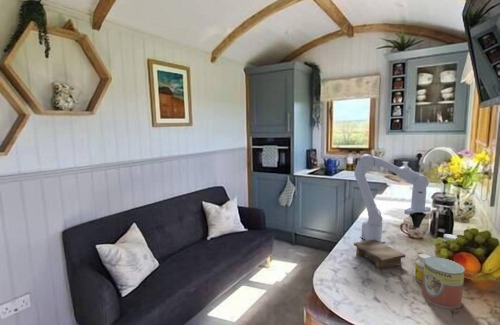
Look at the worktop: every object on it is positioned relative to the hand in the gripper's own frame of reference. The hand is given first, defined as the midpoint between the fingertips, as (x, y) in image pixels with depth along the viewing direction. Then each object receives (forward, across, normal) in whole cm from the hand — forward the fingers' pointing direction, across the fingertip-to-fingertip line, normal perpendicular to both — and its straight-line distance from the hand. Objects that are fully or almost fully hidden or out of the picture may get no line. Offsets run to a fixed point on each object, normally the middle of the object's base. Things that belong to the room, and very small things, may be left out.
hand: (416, 227), depth 136 cm
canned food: (+10, -28, -34) cm, 45 cm away
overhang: (+9, -28, -5) cm, 29 cm away
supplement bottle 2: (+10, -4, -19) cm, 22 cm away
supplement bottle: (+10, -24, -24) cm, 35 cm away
